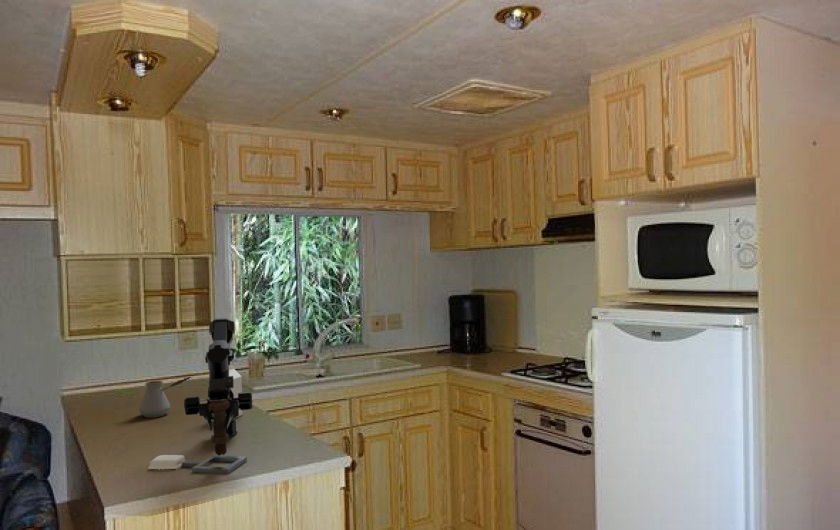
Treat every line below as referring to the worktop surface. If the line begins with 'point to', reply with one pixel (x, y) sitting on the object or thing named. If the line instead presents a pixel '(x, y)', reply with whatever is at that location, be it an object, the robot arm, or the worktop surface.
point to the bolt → (219, 425)
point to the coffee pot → (156, 399)
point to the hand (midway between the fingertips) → (218, 429)
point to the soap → (167, 462)
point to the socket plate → (201, 467)
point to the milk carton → (236, 384)
